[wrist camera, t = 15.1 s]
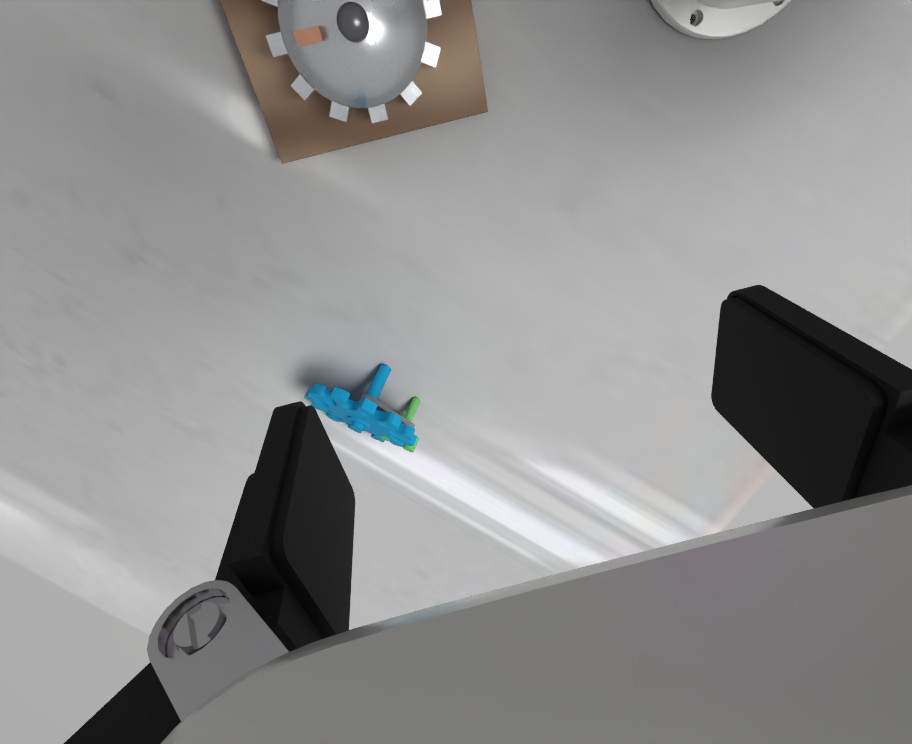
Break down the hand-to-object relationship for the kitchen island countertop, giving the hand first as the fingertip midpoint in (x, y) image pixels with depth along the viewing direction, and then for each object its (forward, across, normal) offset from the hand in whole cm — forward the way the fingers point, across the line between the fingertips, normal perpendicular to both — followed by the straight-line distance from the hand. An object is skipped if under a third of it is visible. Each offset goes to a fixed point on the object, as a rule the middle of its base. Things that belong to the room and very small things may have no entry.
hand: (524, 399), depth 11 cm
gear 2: (+29, +10, +17) cm, 35 cm away
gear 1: (+27, +2, -9) cm, 28 cm away
